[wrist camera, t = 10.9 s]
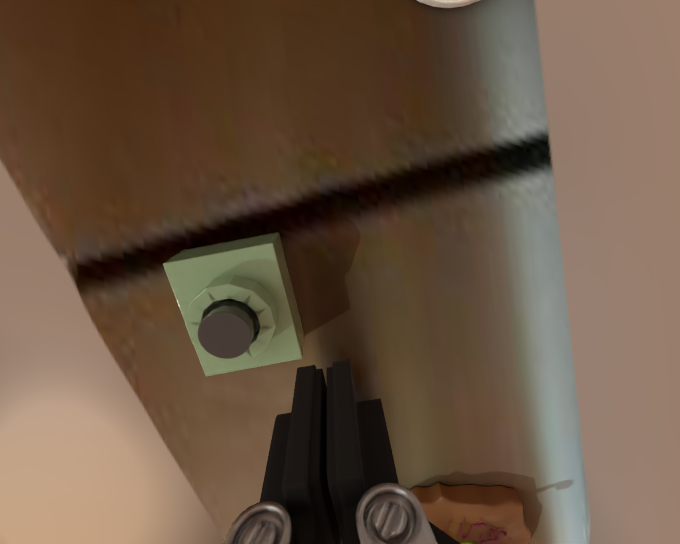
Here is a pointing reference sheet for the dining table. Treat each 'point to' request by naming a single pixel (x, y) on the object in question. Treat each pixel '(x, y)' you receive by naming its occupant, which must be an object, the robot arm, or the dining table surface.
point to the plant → (475, 513)
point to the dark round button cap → (227, 329)
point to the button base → (240, 298)
